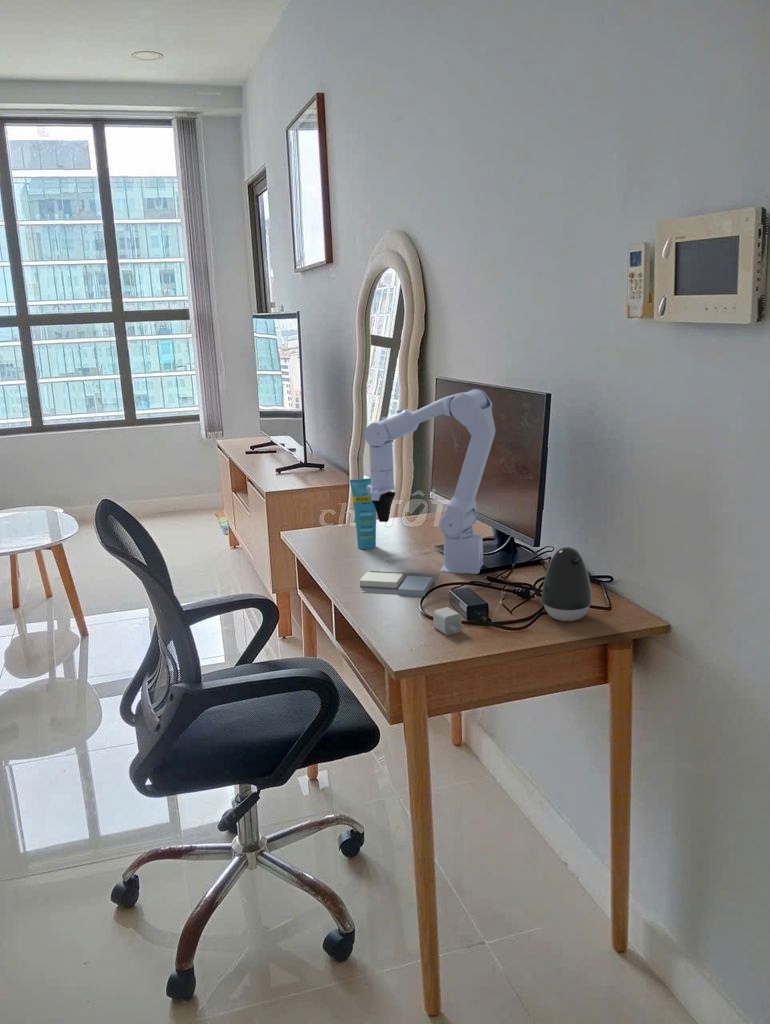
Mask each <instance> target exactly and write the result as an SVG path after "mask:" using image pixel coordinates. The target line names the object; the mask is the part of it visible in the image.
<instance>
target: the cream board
mask: <svg viewBox="0 0 770 1024" xmlns="http://www.w3.org/2000/svg"><path fill="white" fill-rule="evenodd" d="M402 580H403V574H397V573H377V572H370V571H366V572H365V573H364V575H363V576H362V577H361V578H359V584H360V586H370V587H388V588H397V587H398V586H399V584H400V583H401V582H402Z"/></svg>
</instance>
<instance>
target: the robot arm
mask: <svg viewBox="0 0 770 1024" xmlns="http://www.w3.org/2000/svg"><path fill="white" fill-rule="evenodd" d="M490 399H491V398H489V395H487V393H486V392H485V391H484V390H482V389H479V388H472V389H470V390H468V391H463V392H458V393H455V394H451V395H447V396H445V397H442V398H440V399H438V400H436V401H433V402H431V403H429V404H427V405H425V406H423V407H420V408H419V409H417V410H414V411H413V410H412V409H409V408H406V409H404V408H399V409H397V410H396V413H394V414H392V415H389V416H383V417H381V418H380V420H379V421H377V422H372V423H370V424H369V425H367V427H366V428H365V430H364V434H363V435H364V439H365V442H366V443H367V444H368V448H369V470H370V478H371V485H368V486H367V489H370V490H371V495H370V499H371V501H372V502H373V504H374V506H375V508H376V516H377V517H378V521H379V523H388V522H389V520H390V515H391V508H392V504H393V501H394V499H395V496H396V492H395V491H394V490H395V488H396V487H395V484H394V483H395V481H394V462H393V461H394V460H393V459H394V458H393V441H394V440H396V439H399V438H402V437H403V436H404V437H405V436H407V435H409V434H411V433H413V432H416V431H417V430H418V428H419V424H420V423H423V422H425V421H428V420H430V419H433V418H435V417H438V416H441V415H445V416H447V417H451V416H452V417H454V418H455V419H456V420H457V421H458V422H459V423H460V425H463V427H465V428H466V429H467V431H468V433H469V434H470V440H469V444H468V446H467V450H466V454H465V456H464V457H465V458H464V460H463V463H462V467H461V471H460V474H459V478H458V481H457V484H456V487H455V492H454V494H453V497H452V498H451V500H450V501H449V503H448V505H447V507H446V511H444V513H443V514H442V515H441V516H440V518H439V521H438V526H439V528H440V531H441V532H442V533H443V554H444V555H443V558H444V560H443V561H444V563H443V565H442V567H441V569H440V570H439V572H440V573H455V574H456V573H457V574H474V575H475V574H476V575H477V574H480V571H481V570H482V568H483V566H484V544H483V543H484V541H483V536H482V535H481V534H476V533H474V530H473V525H475V524H476V521H477V512H476V511H477V504H478V503H477V501H476V497H477V495H478V494H477V493H478V492H479V491H478V490H479V488H480V484H481V482H482V477H483V475H484V472H485V468H486V465H487V461H488V458H489V455H490V452H491V449H492V445H493V442H494V439H495V435H496V426H495V420H494V416H493V410H492V409H493V402H492V401H491V400H490ZM482 565H483V566H482ZM481 567H482V568H481ZM480 569H481V570H480Z"/></svg>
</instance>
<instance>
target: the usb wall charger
mask: <svg viewBox="0 0 770 1024" xmlns="http://www.w3.org/2000/svg"><path fill="white" fill-rule="evenodd" d="M432 615H433V616H432V618H433V619H432V620H433V623H432V624H433V628H434V629H436V630H437V631H440V632H441V633H442V634H444V635H445V636H448V635H452V634H456V633H458V632H459V633H460V632H461V631H462V629H463V630H465V625H464V624H463V623H462V614H460V613H459V612H457V611H456V610H454V609H452V608H450V607H448V606H446V607H442V608H439V609H438V608H437V609H435V610H434V611H433V613H432Z"/></svg>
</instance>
